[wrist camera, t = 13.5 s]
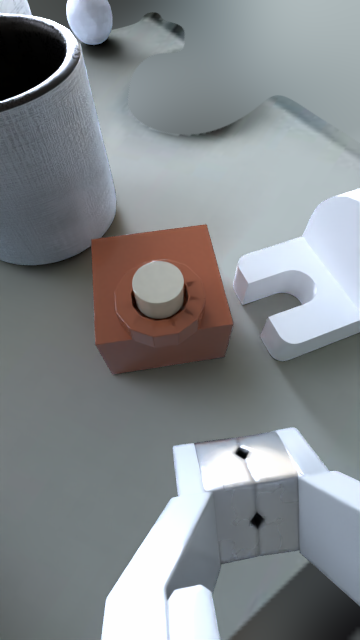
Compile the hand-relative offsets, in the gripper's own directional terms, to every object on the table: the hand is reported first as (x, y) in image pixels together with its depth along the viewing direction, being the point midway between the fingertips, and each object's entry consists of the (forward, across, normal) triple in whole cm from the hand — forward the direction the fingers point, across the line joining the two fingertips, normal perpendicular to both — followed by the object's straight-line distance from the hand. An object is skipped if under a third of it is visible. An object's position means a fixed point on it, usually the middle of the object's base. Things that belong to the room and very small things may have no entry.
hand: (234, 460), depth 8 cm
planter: (+34, -12, +8) cm, 38 cm away
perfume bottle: (+64, -5, +39) cm, 75 cm away
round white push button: (+16, -1, +1) cm, 16 cm away
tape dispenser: (+24, +16, -2) cm, 29 cm away
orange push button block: (+24, -1, -2) cm, 24 cm away
